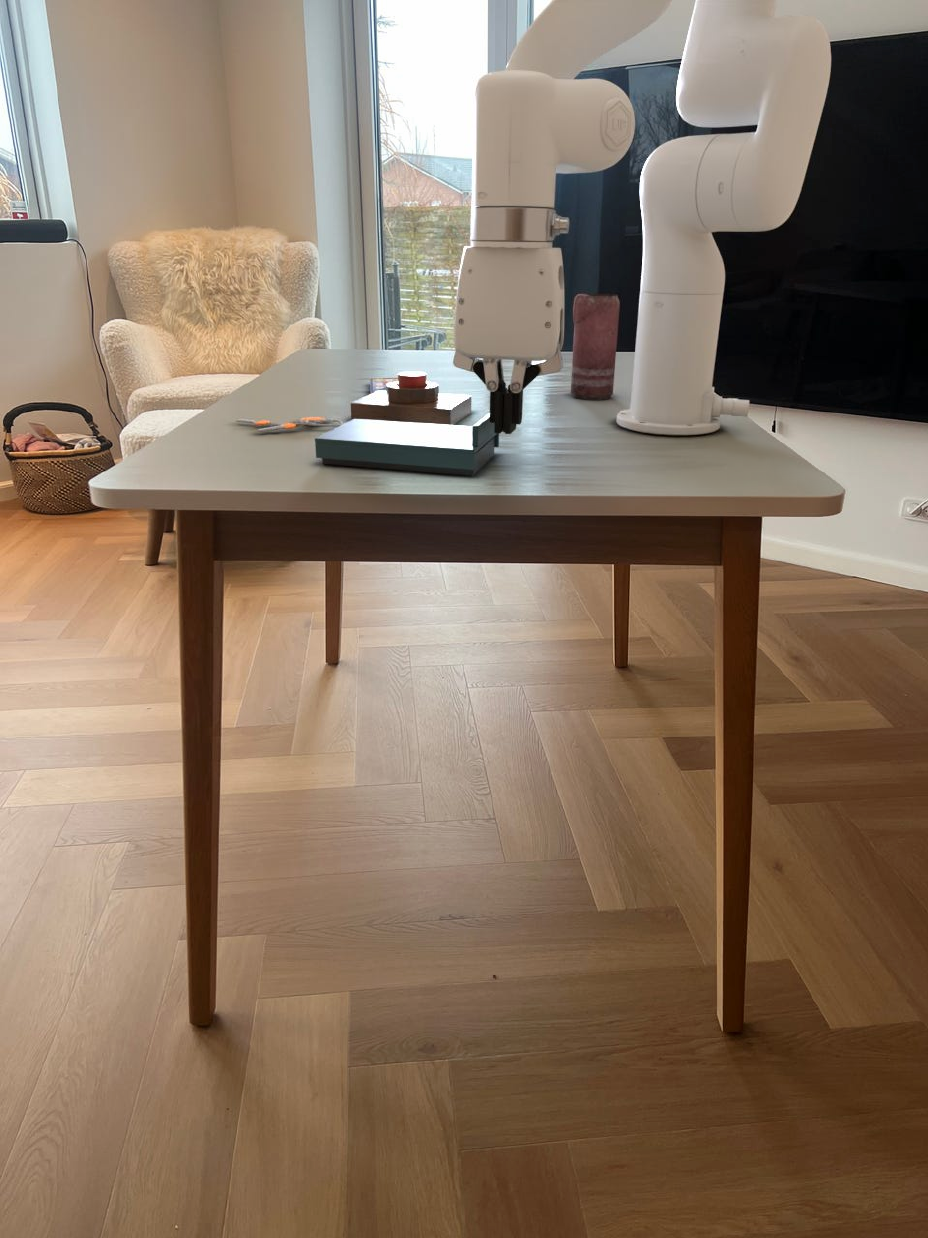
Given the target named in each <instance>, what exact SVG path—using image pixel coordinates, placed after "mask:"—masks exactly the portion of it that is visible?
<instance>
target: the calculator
mask: <svg viewBox="0 0 928 1238" xmlns="http://www.w3.org/2000/svg"><path fill="white" fill-rule="evenodd" d="M494 444H495V437H493V438H491V439H490V440H489V441H488V442H487V443H486V444H485V445H484V446H483V447H481V448H480V449H479V450H478V451H477V452H476V453H475V470H466V469H454V468H441V467H428V466H415V465H402V464H389V463H376V462H363V461H351V460H338V459H325V458H321V462H322V465H330V466H341V467H342V466H343V467H354V468H355V467H356V468H368V469H380V470H393V471H405V472H419V473H429V474H431V473H433V474H443V475H444V474H445V475H456V476H466V477H467V476H468V477H473V476H475V475H476V474H477V473H478V472H479V471H480V470H481V469H482V468H483V467H484V466H485V465H486V464H487V463H488V462H489V461H490V460H491V459H492V458H493V457H494V456H495V447H494Z"/></svg>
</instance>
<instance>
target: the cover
mask: <svg viewBox="0 0 928 1238" xmlns="http://www.w3.org/2000/svg"><path fill="white" fill-rule="evenodd" d="M343 423H344V422H343ZM493 437H495V444H494V448H499V447H500V433H495V432H494V423H490V412H489V413H487V414H486V415H485V416H483V417H482V418H481V419H480V420H478V421H476V422H475V423H474V424H473V425H457V424H454V425H444V424H428V423H413V422H398V421H382V420H367V419H352V420H351V419H350V420H348V421H347V422H345V423H344V424H342V425H340V426H339V427H335V428H332V429H331V430H328V431H327V432H325V433H323V434H321V435H319V436H317V437H315V438H314V445H315V458H316V459H322V458H325V459H338V460H351V461H363V462H376V463H389V464H402V465H415V466H428V467H441V468H454V469H466V470H475V453H476V452H477V451H478V450H479V449H480V448H481V447H483V446H484V445H485V444H486V443H487V442H488V441H489V440H490V439H491V438H493Z"/></svg>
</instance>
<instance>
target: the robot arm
mask: <svg viewBox="0 0 928 1238" xmlns="http://www.w3.org/2000/svg"><path fill="white" fill-rule="evenodd" d="M672 1H673V0H551V1H550V2H549V3H548V5H547V6H546V7H545V8H544V9H543V10H542V11H541V12H540V13H539V15H538V16H537V17H536V18H535V19H534V21H533V22H532V23H531V24H530V25H529V26H528V27H527V29H526V30H525V32H524V33H523V35H522V36H521V37H520V39H519V41H518V42H517V44H516V46H515V47H514V49H513V51H512V53H511V55H510V58H509V60H508V62H507V65H506V67H505V69H504V70H498V71H497V70H496V71H492V72H488V73H486V74H484V75H482V76H481V77H480V78H478V81H477V82H476V84H475V86H474V89H473V99H472V144H471V145H472V146H471V147H472V149H471V151H472V153H471V157H472V158H471V167H472V168H471V203H470V204H471V205H470V206H471V208H470V210H471V211H470V212H471V213H470V246H467V245H465V246H463V251H462V256H461V261H460V267H459V273H458V278H457V279H458V280H457V286H456V287H457V290H456V296H455V297H456V298H455V309H454V321H453V322H454V324H453V338H454V339H453V341H454V348H455V352H454V356H453V359H452V364H453V366H454V367H455V368H458V369H460V370H464V371H467V372H472V373H474V374H475V375H476V376H477V377H478V378H479V380H480V381H481V382H482V383H483V384H484V385H485V388H486V390H487V391H488V392H489V413H490V423H494V432H495V433H499V434H501V433H504V434H505V435H512V433H514V432H515V431H516V429H517V425H521V424H522V421H523V403H524V402H523V401H524V389H525V388H526V387H528V386H529V385H530V384H531V383H532V382H533V381H534V380H535V379H536V378H537V377H541V376H546V375H551V374H555V373H559V372H560V371H562V370H563V368H564V362H563V357H562V349H563V345H564V339H565V275H564V273H565V272H564V263H563V262H564V261H563V254H562V253H563V252H562V248H561V247H553V242H554V241H555V238H556V237H557V236H561V234H569V233H570V217H566V216H565V217H564V216H562V215H558V213H556V209H555V199H556V180H557V179H556V178H557V174H562V175H568V174H588V173H598V172H601V171H605V170H607V169H609V168H611V167H613V166H615V165H616V164H617V163H619V161H620V160H622V158H623V157H624V156H625V155H626V154H627V152H628V151H629V149H630V148H631V145H632V142H633V139H634V135H635V130H636V117H635V115H636V114H635V110H634V108H633V104H632V102H631V100H630V98H629V96H628V95H627V94H626V93H625V91H624V90H623V89H622V88H621V87H619V86H618V85H617V84H615V83H613V82H611V81H609V80H606V79H603V78H580V79H575V78H576V77H577V76H578V75H579V74H580V73H582V71H584V69H586V68H588V66H590V65H591V64H592V63H594V61H596V60H597V59H599V58H600V57H602V56H603V55H606V54H607V53H609V52H610V51H612V50H614V49H616V48H617V47H619V46H620V45H622V44H624V43H625V42H627V41H629V40H630V39H632V38H634V37H635V36H637V35H639V33H641V32H642V31H644V30H645V29H647V28H648V27H650V26H651V25H652V24H653V23H655V22H657V21H658V20H659V19H660V18H661V17H662V16H663V15H664V13H665V12H666V11H667V9H668V8H669V7H670V5H671V3H672ZM777 5H778V0H695V2H694V7H693V11H692V15H691V21H690V23H689V28H688V32H687V37H686V41H685V45H684V51H683V53H682V54H683V55H682V59H681V64H680V68H679V73H678V77H677V78H678V79H677V84H676V91H675V92H676V95H675V103H676V108H677V111H678V114H679V115H680V117H681V119H682V120H683V121H685V122H686V123H688V124H689V125H691V126H695V127H700V128H733V127H747V126H757V128H756V131H751V132H736V133H714V134H698V135H687V136H682V137H677V138H674V139H670V140H668V141H666V142H664V143H662V144H661V145H659V146H658V147H656V148H655V149H654V150H653V151H652V152H651V153H650V155H649V156H648V158H647V159H646V161H645V163H644V165H643V168H642V171H641V175H640V182H639V201H640V210H641V212H640V213H641V220H642V221H641V222H642V265H641V276H640V278H641V279H640V291H639V299H638V301H639V302H638V312H637V323H636V324H637V326H636V337H635V349H634V350H635V351H634V358H633V359H634V360H633V372H632V383H631V394H630V395H631V396H630V405H629V408H627V409H623V410H620V411H619V412H618V413H616V424H617V425H618V426H619V427H621V428H624V429H626V430H630V431H635V432H640V433H645V434H652V435H662V436H663V435H665V436H697V435H704V434H710V433H714V432H716V431H718V430H719V429H720V428H721V423H722V422H721V421H722V420H721V417H720V416H721V415H726V416H732V417H745V418H747V417H748V415H749V408H750V399H739V398H735V397H734V398H732V397H728V398H723V396H722V395H721V396H719V395H715V386H713V381H714V373H715V363H716V357H717V349H718V348H717V347H718V340H719V331H720V324H721V315H722V308H723V300H724V293H725V284H726V269H725V264H724V259H723V257H722V255H721V252H720V250H719V247H718V245H717V242H716V241H715V239H714V236H713V233H717V232H733V233H734V232H736V233H737V232H739V233H740V232H741V233H742V232H743V233H745V232H746V233H747V232H748V233H749V232H752V233H754V232H756V233H757V232H758V233H759V232H768V231H771V230H775V229H777V228H779V227H780V226H782V225H783V224H784V223H785V222H786V221H787V220H789V218H790V216H791V214H792V213H793V211H794V210H795V207H796V205H797V203H798V200H799V198H800V194H801V192H802V187H803V184H804V181H805V178H806V173H807V170H808V166H809V163H810V159H811V156H812V151H813V147H814V143H815V140H816V136H817V132H818V129H819V125H820V122H821V117H822V113H823V111H824V110H823V109H824V106H825V102H826V98H827V94H828V88H829V84H830V79H831V70H832V69H831V68H832V52H831V51H832V50H831V41H830V37H829V34H828V32H827V29H826V28H825V26H824V25H823V24H822V22H821V21H820V20H818V19H817V18H816V17H813V16H811V15H807V14H786V15H780V16H775V13H776V8H777ZM503 360H508V361H509V360H510V361H514V362H513V367H512V371H511V378H510V383H509V384H508V385H507V383H506V382H505V377H504V368H503ZM533 361H534V362H533Z"/></svg>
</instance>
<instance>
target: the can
mask: <svg viewBox="0 0 928 1238" xmlns="http://www.w3.org/2000/svg"><path fill="white" fill-rule="evenodd" d="M618 296H619V295H618V294H608V293H606V294H605V293H578V294H577V295H575V297H574V299H573V308H572V319H573V324H574V326H573V343H572V359H571V360H572V361H571V376H570V378H571V379H570V394H571V396H572V397H573V398H575V399H580V400H590V401H600V400H608V399H610V398H611V397H612V396H613V394H614V385H615V370H616V359H617V358H616V357H617V345H618V334H619V333H618V332H619V319H620V308H621V307H620V306H621V305H620V304H621V301H620V299H619V297H618Z"/></svg>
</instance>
